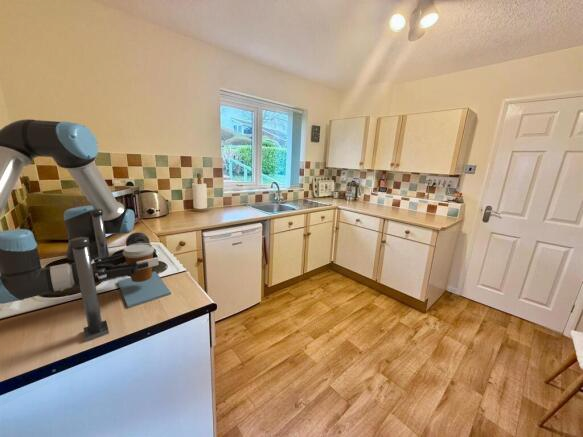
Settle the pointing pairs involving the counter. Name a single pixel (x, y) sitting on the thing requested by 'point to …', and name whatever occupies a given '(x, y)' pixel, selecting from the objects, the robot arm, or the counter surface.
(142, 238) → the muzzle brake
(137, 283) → the mat
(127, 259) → the disposable coffee cup
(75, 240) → the post
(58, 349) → the counter surface
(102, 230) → the post
